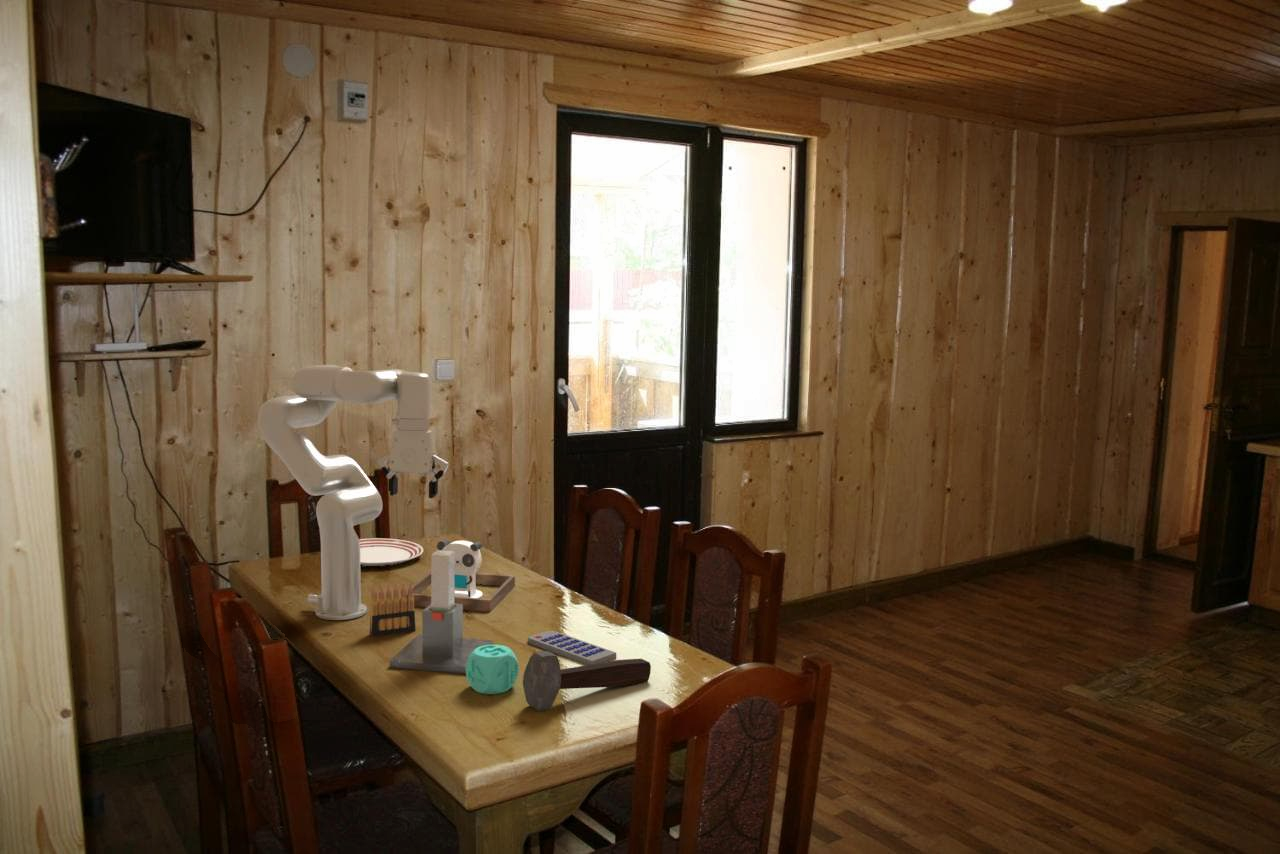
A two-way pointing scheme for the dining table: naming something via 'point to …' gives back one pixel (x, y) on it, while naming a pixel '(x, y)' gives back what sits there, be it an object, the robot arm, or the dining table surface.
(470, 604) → the frame
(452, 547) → the panda figurine
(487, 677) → the decorative dice
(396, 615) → the ammunition clip
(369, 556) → the dinner plate
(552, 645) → the remote control
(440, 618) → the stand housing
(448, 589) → the column
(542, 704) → the hammer
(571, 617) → the dining table surface
